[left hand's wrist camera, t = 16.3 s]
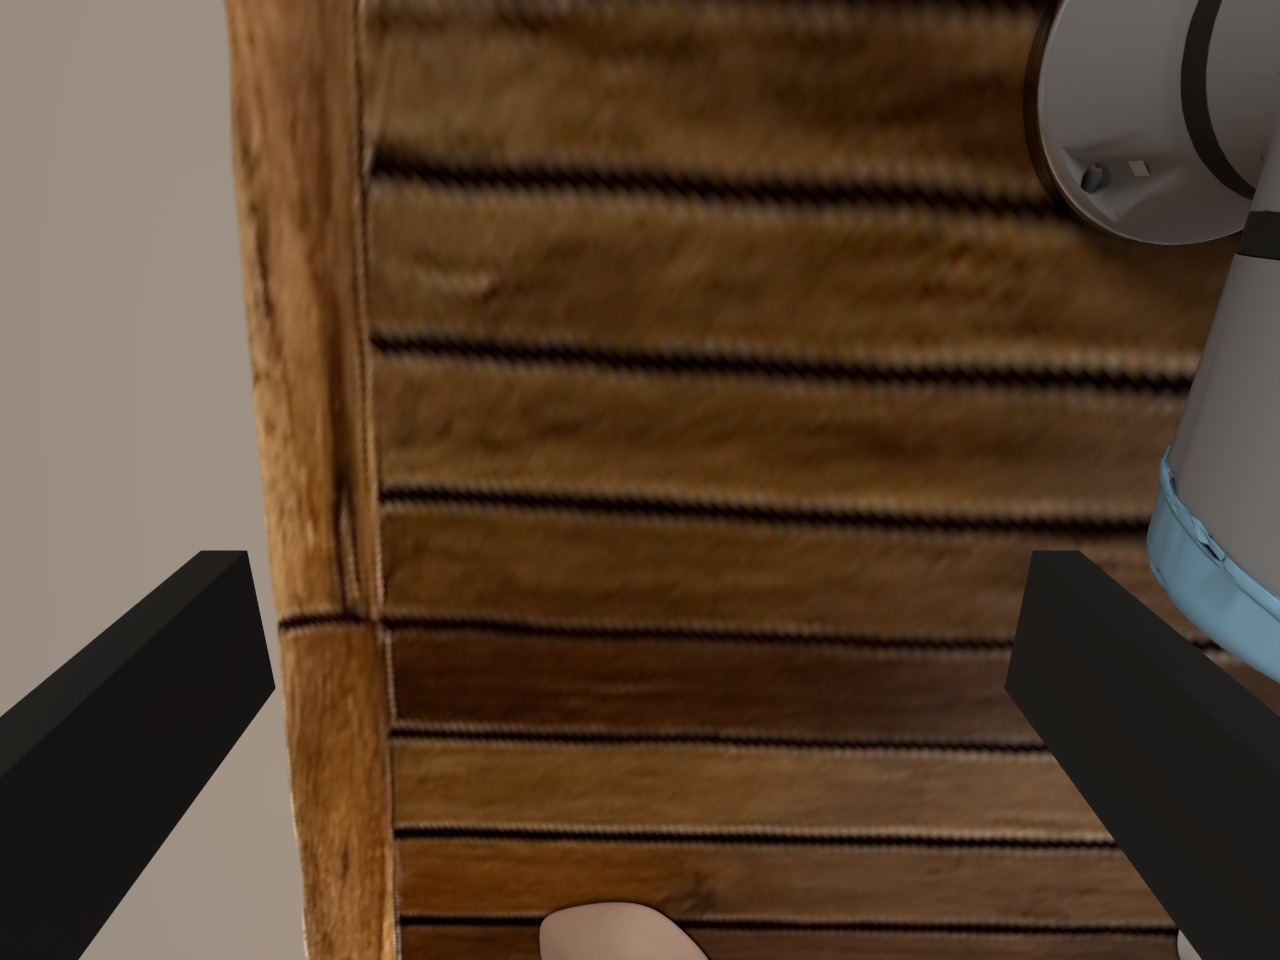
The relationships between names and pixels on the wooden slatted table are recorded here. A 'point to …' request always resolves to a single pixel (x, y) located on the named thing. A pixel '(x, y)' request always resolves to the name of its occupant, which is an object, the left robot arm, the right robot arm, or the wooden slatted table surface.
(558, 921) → the anatomical model
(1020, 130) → the wooden slatted table surface
